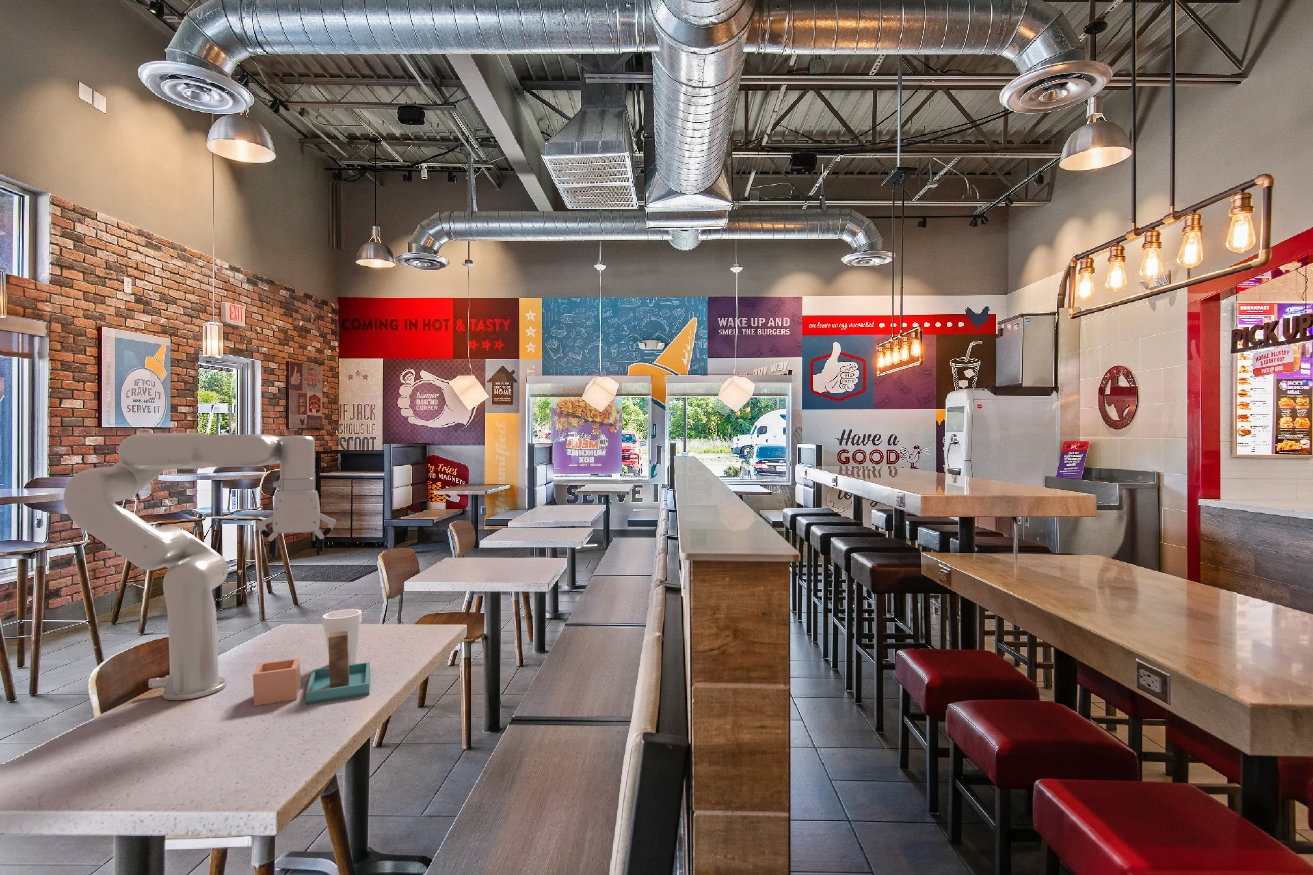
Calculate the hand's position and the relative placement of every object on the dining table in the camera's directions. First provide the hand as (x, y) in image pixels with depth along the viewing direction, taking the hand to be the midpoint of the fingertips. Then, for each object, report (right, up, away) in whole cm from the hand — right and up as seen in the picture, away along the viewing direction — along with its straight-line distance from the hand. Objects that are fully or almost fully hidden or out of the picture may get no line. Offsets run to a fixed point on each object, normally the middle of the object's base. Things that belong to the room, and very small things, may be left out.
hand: (296, 555), depth 169 cm
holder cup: (+1, -31, -10) cm, 32 cm away
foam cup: (+6, -31, +12) cm, 34 cm away
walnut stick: (+13, -30, -5) cm, 33 cm away
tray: (+13, -30, -5) cm, 33 cm away
